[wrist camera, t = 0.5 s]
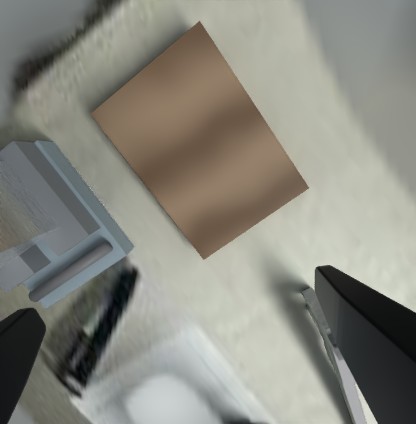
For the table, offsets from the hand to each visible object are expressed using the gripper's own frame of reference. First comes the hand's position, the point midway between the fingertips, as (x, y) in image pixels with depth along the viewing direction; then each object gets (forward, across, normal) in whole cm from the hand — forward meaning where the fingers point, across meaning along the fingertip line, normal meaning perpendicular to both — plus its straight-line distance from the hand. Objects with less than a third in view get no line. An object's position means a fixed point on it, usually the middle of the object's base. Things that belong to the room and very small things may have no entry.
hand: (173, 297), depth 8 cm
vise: (+14, +13, +3) cm, 19 cm away
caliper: (+10, -11, +22) cm, 26 cm away
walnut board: (+15, -1, -1) cm, 15 cm away
